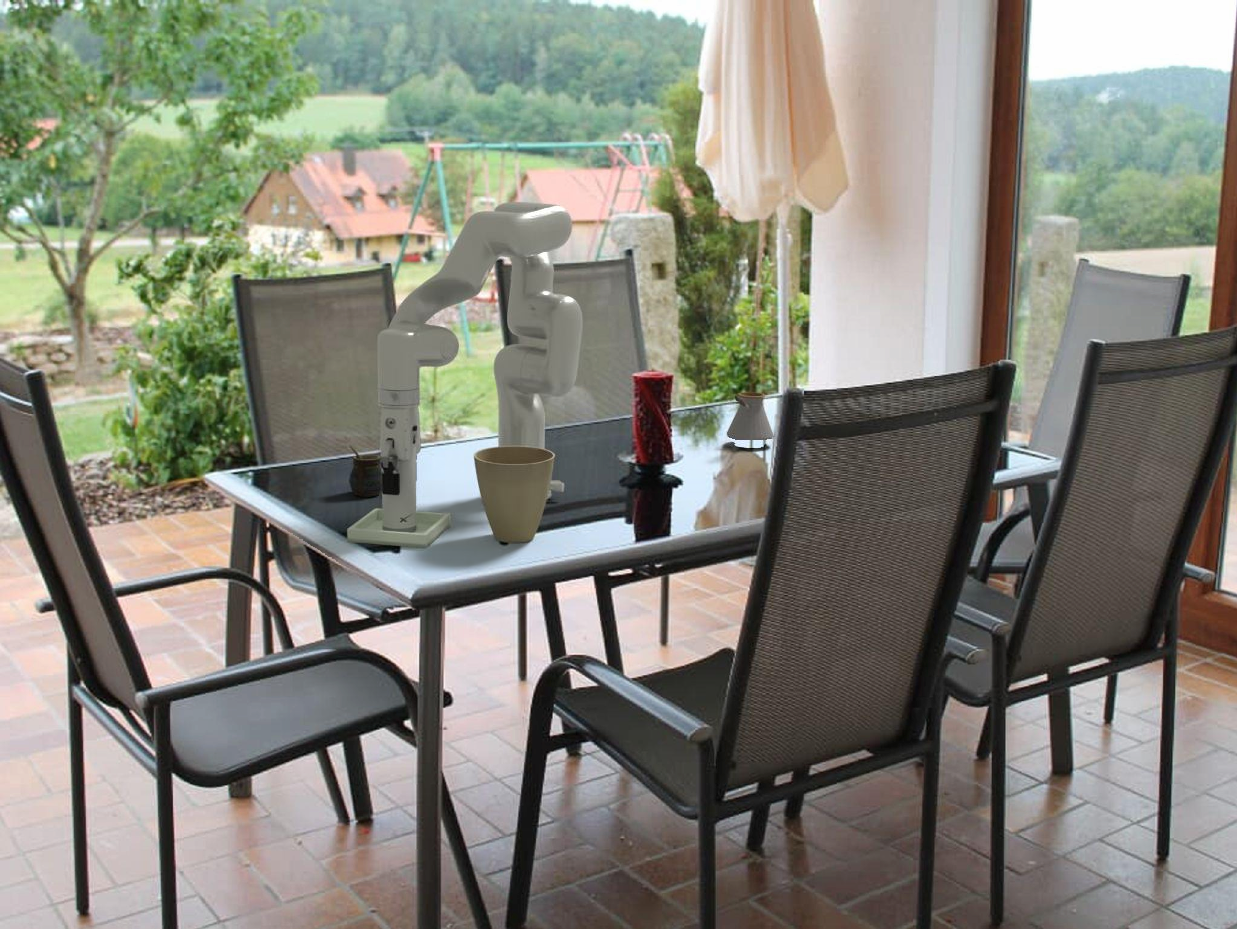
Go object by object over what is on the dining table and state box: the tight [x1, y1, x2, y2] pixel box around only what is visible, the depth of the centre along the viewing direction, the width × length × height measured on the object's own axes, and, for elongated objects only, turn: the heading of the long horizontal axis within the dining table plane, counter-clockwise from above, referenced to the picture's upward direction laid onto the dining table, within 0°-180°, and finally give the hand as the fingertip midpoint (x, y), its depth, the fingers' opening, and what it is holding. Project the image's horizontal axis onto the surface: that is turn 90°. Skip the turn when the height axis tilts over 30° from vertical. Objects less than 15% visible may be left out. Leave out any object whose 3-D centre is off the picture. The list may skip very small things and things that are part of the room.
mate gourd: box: [348, 445, 382, 498], centre depth 287 cm, size 7×8×10 cm
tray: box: [346, 508, 452, 549], centre depth 260 cm, size 15×15×2 cm
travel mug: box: [381, 426, 417, 533], centre depth 258 cm, size 6×7×20 cm
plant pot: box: [473, 446, 556, 544], centre depth 258 cm, size 15×15×16 cm
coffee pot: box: [726, 391, 774, 440], centre depth 337 cm, size 21×12×15 cm, turn 159°
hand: (399, 488), depth 258 cm, fingers open, 9 cm apart
